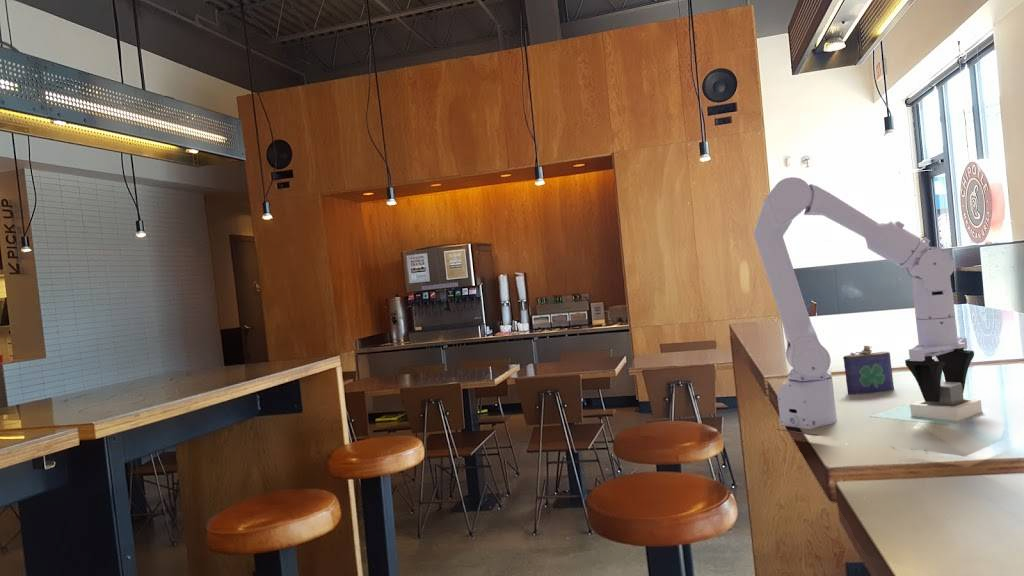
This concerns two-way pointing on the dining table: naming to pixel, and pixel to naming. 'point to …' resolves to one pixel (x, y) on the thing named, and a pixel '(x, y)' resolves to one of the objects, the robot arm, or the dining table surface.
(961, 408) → the socket
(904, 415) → the translucent flat sheet
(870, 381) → the flask
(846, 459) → the dining table surface
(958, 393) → the grey block
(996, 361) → the dining table surface
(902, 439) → the dining table surface
